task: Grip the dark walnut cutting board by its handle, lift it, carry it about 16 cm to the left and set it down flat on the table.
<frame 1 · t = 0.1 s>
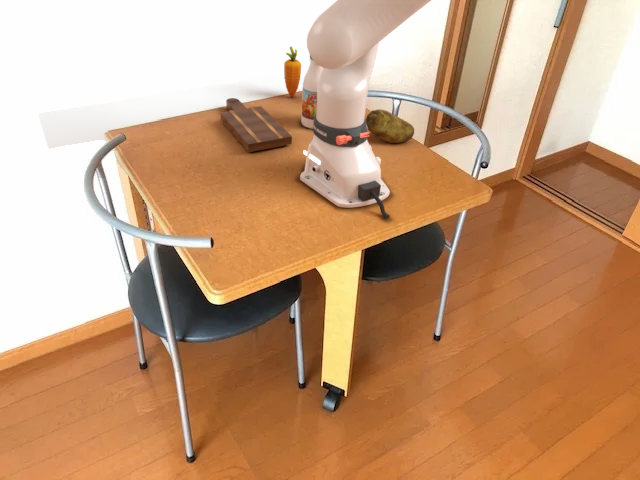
milk bottle: (314, 124, 155), on the table
potato: (387, 140, 149), on the table
gingerbread man figurine: (325, 102, 167), on the table
carrot: (291, 97, 168), on the table
cutting board: (255, 134, 147), on the table
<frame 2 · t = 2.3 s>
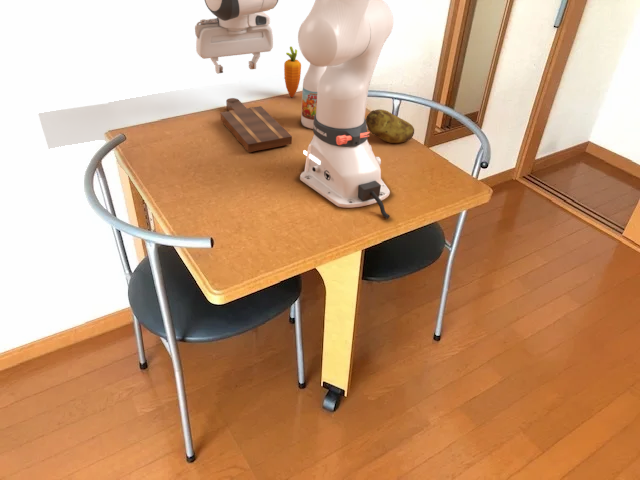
hand: (236, 70, 148), 13 cm above the table, tool pointing down, fingers open, 8 cm apart
nothing on the table moved.
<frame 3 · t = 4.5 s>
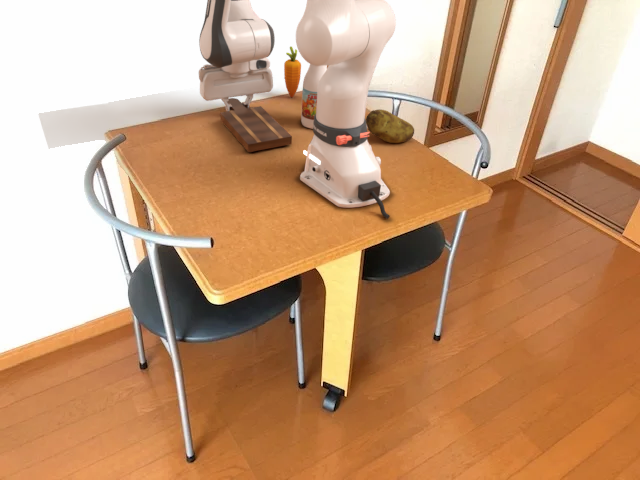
hand: (237, 110, 155), 2 cm above the table, tool pointing down, fingers closed on cutting board, 3 cm apart
cutting board: (255, 134, 147), on the table, touching gripper
everything else where it was.
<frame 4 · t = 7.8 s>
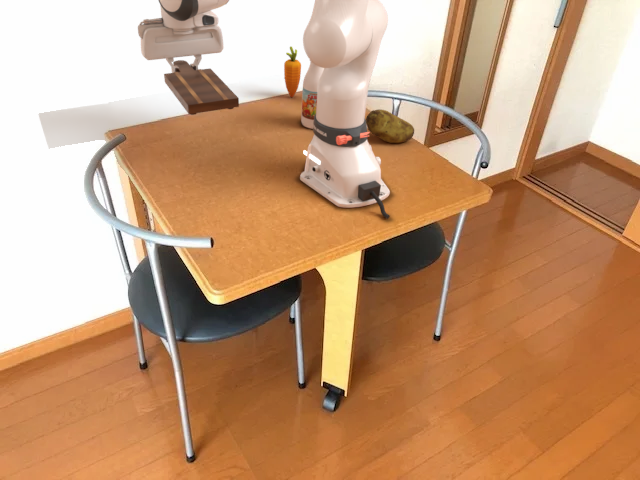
hand: (185, 72, 142), 14 cm above the table, tool pointing down, fingers closed on cutting board, 3 cm apart
cutting board: (200, 97, 134), point 12 cm above the table, touching gripper
everything else where it was.
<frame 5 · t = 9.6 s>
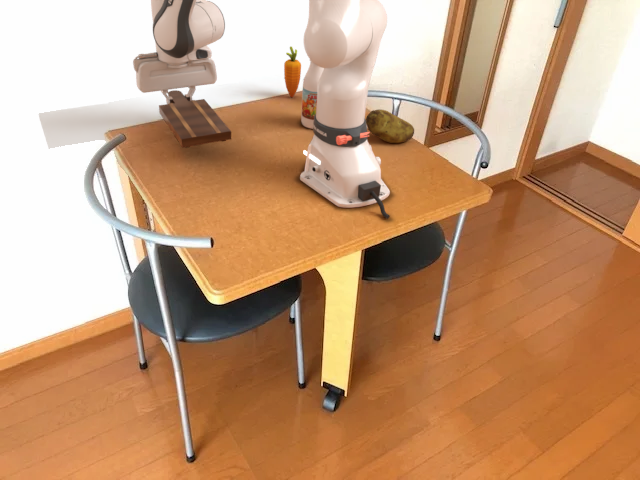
hand: (179, 103, 146), 6 cm above the table, tool pointing down, fingers closed on cutting board, 3 cm apart
cutting board: (194, 128, 138), point 4 cm above the table, touching gripper
everything else where it was.
when the fingers open (2 cm above the table, at t = 11.0 s): cutting board stays where it is, on the table.
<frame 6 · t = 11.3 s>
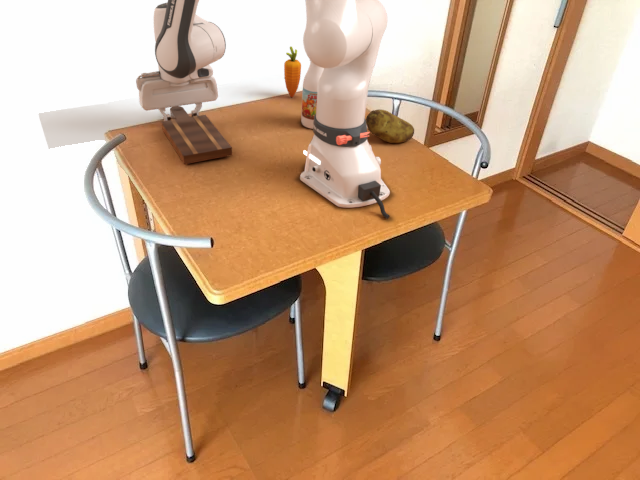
hand: (181, 119, 148), 1 cm above the table, tool pointing down, fingers open, 6 cm apart
cutting board: (196, 144, 141), on the table
everything else where it was.
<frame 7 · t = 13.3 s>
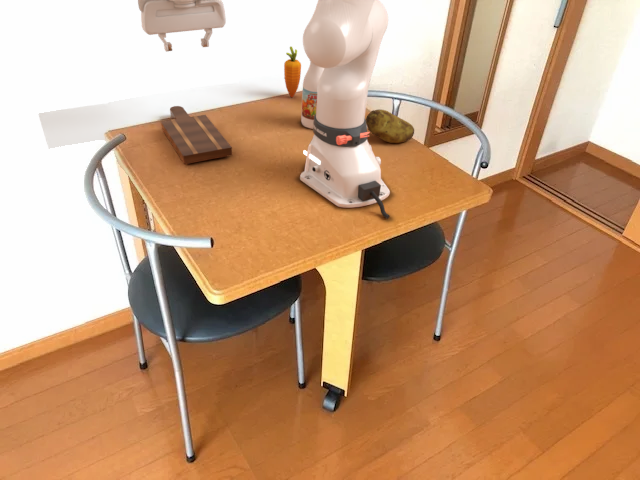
hand: (187, 48, 139), 20 cm above the table, tool pointing down, fingers open, 8 cm apart
nothing on the table moved.
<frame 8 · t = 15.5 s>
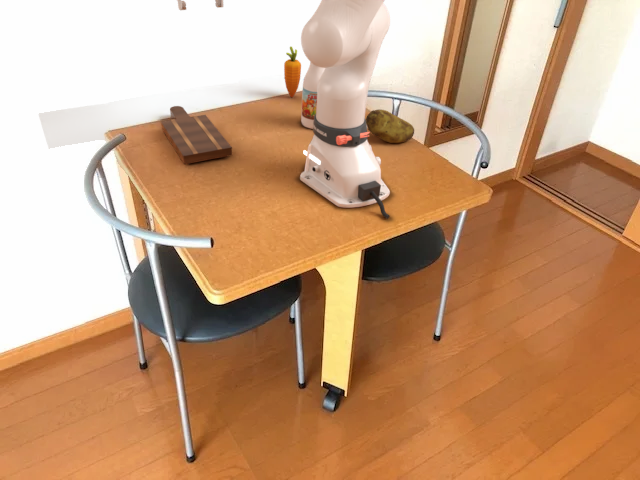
hand: (201, 8, 136), 29 cm above the table, tool pointing down, fingers open, 8 cm apart
nothing on the table moved.
at the end: cutting board inside the target area (0.1 cm from its centre), on the table; cutting board tilted 0°; the gripper is holding nothing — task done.
